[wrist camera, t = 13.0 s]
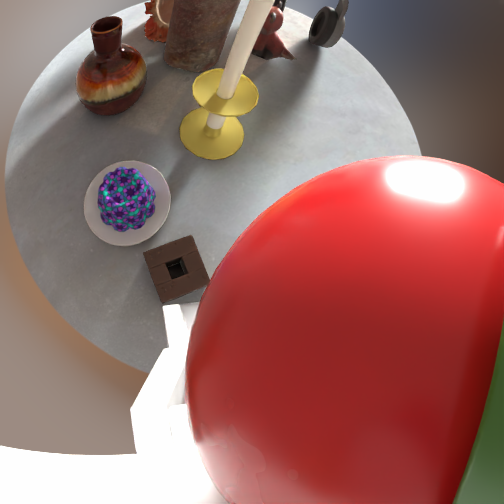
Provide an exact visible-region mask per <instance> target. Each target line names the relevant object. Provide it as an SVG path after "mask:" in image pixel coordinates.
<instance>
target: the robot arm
mask: <svg viewBox="0 0 504 504" xmlns="http://www.w3.org/2000/svg"><path fill="white" fill-rule="evenodd" d="M199 303H200V302H194V303H185V304H179V305H168V306H163V316H164V323H165V330H166V337H167V343H168V348H167V349H163V351H162V353H161V354H160V356H159V358H158V360H157V362H156V363H155V365H154V367H153V369H152V371H151V372H150V374H149V376H148V378H147V380H146V381H145V383H144V385H143V387H142V389H141V391H140V392H139V394H138V396H137V398H136V400H135V402H134V403H133V406H132V407H131V418H132V425H133V426H132V427H133V434H134V441H135V447H136V453H137V454H128V455H70V454H69V455H68V454H55V453H44V452H36V451H28V450H21V449H15V448H9V447H3V446H0V504H228V502H227V501H226V500H225V499H224V498H223V497H222V496H221V494H220V493H219V492H218V491H217V489H216V488H215V486H214V484H213V483H212V481H211V479H210V477H209V476H208V474H207V472H206V470H205V469H204V466H203V464H202V462H201V460H200V458H199V456H198V453H197V450H196V447H195V444H194V441H193V438H192V435H191V432H190V429H189V424H188V417H187V410H186V403H185V359H186V352H187V347H188V342H189V336H190V331H191V326H192V324H193V321H194V318H195V315H196V312H197V309H198V306H199Z"/></svg>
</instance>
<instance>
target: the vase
mask: <svg viewBox="0 0 504 504" xmlns="http://www.w3.org/2000/svg"><path fill="white" fill-rule="evenodd" d="M90 30H91V35H92V39H93V44H94V51H92V52H91V53H90V54H89V55H88V56H87V57H86V58H85V59H84V60H83V62H82V63H81V65H80V67H79V69H78V72H77V75H76V91H77V94H78V97H79V99H80V101H81V102H82V104H83V105H84V106H85V107H86V108H87V109H88V110H90V111H91V112H93V113H95V114H99V115H114V114H118V113H121V112H123V111H125V110H127V109H128V108H130V107H131V106H132V105H133V104H134V103H135V102H136V101H137V100H138V99H139V97H140V96H141V94H142V92H143V90H144V87H145V84H146V80H147V67H146V63H145V61H144V58H143V57H142V55H141V54H140V53H139V51H137V50H136V49H135V48H133V47H131V46H129V45H127V44H123V43H121V35H122V19H121V18H119V17H116V16H110V17H105V18H102V19H99V20H97V21H96V22H95V23H93V24H92V26H91V29H90Z"/></svg>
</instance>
